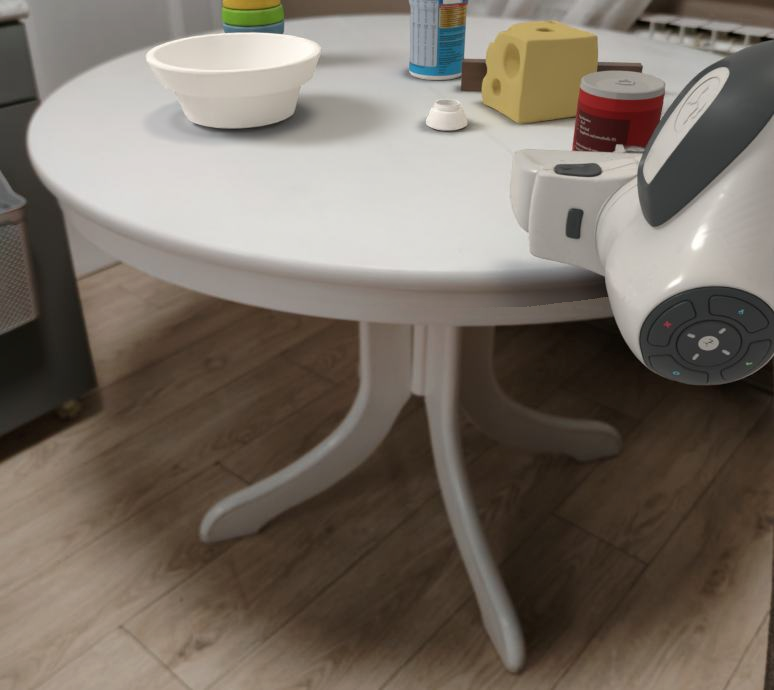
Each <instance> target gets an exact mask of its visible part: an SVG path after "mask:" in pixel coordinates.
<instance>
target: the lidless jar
mask: <svg viewBox="0 0 774 690" xmlns="http://www.w3.org/2000/svg"><path fill="white" fill-rule="evenodd" d="M425 124H426V125H427V126H428V127H429V128H431V129H432V130H433V129H434V130H437V131H443V132H452V131H457V130H460V129H463V128H465V127H467V126H468V118H467V116H466V113H465V110H464V109H463V107H461V101H459V100H457V99H453V98H441V99H437V100H435V101H434V105H433V106H432V107H431V109H430V111H429V113H428V115H427V116H426V119H425Z"/></svg>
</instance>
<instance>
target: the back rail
mask: <svg viewBox="0 0 774 690" xmlns="http://www.w3.org/2000/svg"><path fill="white" fill-rule="evenodd" d="M643 68H644V65H643V64H642V63H641V62H621V61H620V62H619V61H598V66H597V72H601V71H631V72H639V73H643ZM486 74H487V65H486V58H464V59H463V60H462V73H461V76H460V79H461V80H460V92H475V93H477V92H478V93H480V92H481V93H482V83H483V79H484V77H485V76H486Z"/></svg>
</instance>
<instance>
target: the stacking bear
mask: <svg viewBox="0 0 774 690" xmlns="http://www.w3.org/2000/svg"><path fill="white" fill-rule="evenodd" d="M283 7H284V6H283V4H282V3H281V0H222V8H221V20H222V27H223V28H222V29H223V32H224V33H252V32H253V33H274V34H284V33H285V13H284V8H283Z"/></svg>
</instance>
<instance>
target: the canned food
mask: <svg viewBox="0 0 774 690" xmlns="http://www.w3.org/2000/svg"><path fill="white" fill-rule="evenodd" d="M665 94H666V82H665V81H664V80H663V79H662V78H660V77H657V76H655V75H652V74H648V73H643V72H642V73H639V72H631V71H601V72H595V73H591V74H588V75H586V76H584V77H583V78H582V80H581V84H580V90H579V97H578V104H577V112H576V116H575V122H574V128H573V129H574V131H573V140H572V147H571V151H589V152H614V151H615V147H616V145H617V144H619V145H646V146H647V144H648V142H649V140H650V138H651V136H652V134H653V132H654V130H655V129H656V127H657V125H658V123H659V122H660V120H661V119H662V114H663V113H662V112H663V107H664V100H665Z"/></svg>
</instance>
